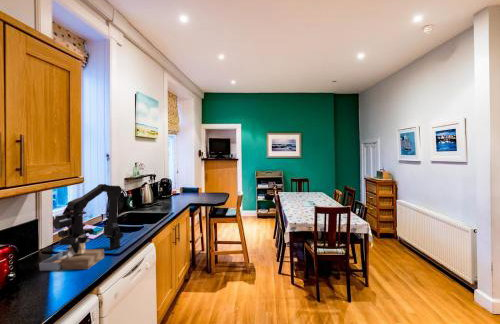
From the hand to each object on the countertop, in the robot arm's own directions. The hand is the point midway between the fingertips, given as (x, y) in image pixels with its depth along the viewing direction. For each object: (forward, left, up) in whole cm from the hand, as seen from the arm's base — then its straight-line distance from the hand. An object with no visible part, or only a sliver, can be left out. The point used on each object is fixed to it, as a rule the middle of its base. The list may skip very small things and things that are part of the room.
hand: (78, 251), depth 137 cm
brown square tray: (0, +3, -7) cm, 7 cm away
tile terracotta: (+3, -10, -4) cm, 11 cm away
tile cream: (-3, -10, -4) cm, 11 cm away
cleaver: (-23, -21, -7) cm, 32 cm away
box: (0, -10, -7) cm, 12 cm away
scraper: (0, +1, -1) cm, 1 cm away
